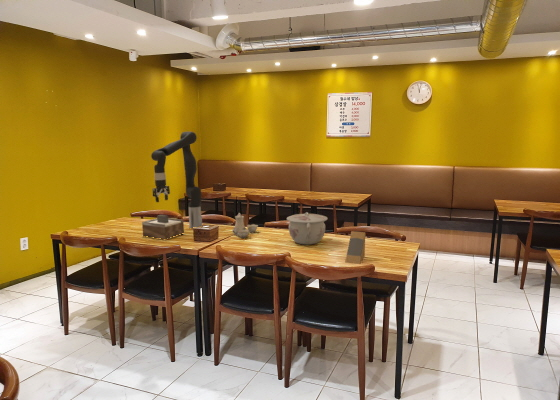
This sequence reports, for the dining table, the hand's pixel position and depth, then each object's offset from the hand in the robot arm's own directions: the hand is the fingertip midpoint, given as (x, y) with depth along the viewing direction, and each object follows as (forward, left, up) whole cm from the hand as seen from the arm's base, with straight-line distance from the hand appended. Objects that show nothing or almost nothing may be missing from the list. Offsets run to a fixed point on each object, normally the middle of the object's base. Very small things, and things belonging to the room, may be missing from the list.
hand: (162, 201), depth 297 cm
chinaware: (-29, +50, -26) cm, 64 cm away
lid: (0, -1, -17) cm, 17 cm away
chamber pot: (-30, +101, -26) cm, 109 cm away
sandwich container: (-8, +143, -26) cm, 146 cm away
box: (0, -1, -26) cm, 26 cm away
